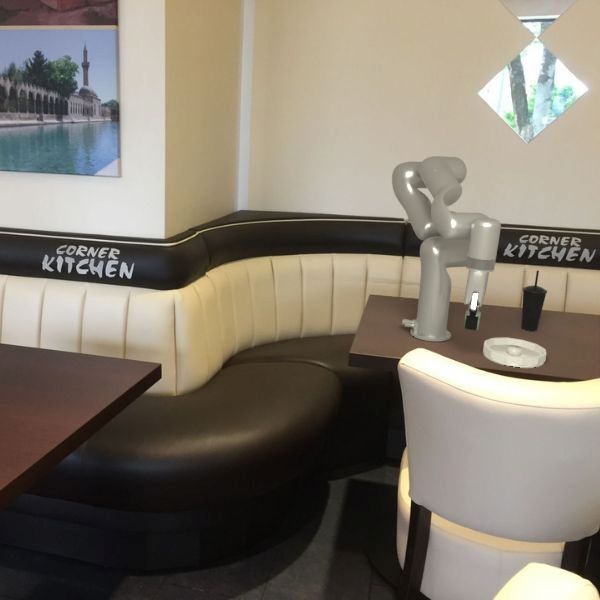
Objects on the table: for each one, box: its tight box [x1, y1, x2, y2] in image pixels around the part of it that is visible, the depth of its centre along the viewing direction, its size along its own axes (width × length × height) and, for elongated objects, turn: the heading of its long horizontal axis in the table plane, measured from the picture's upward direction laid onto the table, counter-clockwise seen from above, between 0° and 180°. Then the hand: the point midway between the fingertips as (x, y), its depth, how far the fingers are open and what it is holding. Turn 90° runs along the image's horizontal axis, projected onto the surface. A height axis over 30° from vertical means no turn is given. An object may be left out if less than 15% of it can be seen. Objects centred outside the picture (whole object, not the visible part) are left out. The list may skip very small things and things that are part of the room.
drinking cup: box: [521, 270, 548, 332], centre depth 198 cm, size 8×8×20 cm
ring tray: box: [482, 336, 547, 369], centre depth 174 cm, size 17×17×3 cm
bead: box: [463, 308, 482, 331], centre depth 168 cm, size 4×4×5 cm
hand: (471, 326), depth 168 cm, fingers closed on bead, 4 cm apart
